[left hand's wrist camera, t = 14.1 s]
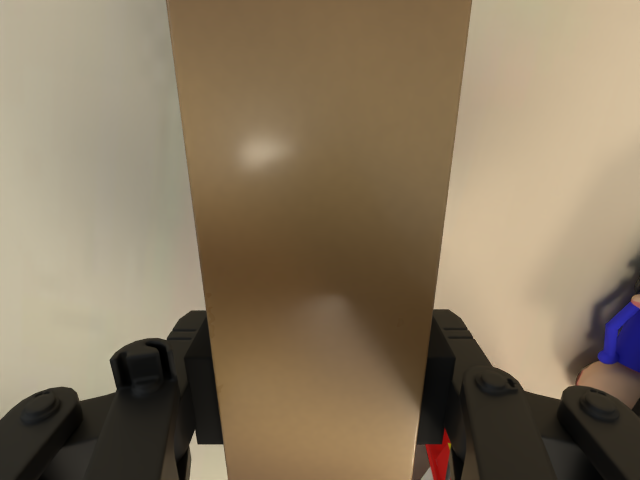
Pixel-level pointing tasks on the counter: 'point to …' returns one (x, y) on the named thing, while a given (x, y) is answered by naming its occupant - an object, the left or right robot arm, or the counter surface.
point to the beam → (319, 219)
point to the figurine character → (619, 357)
